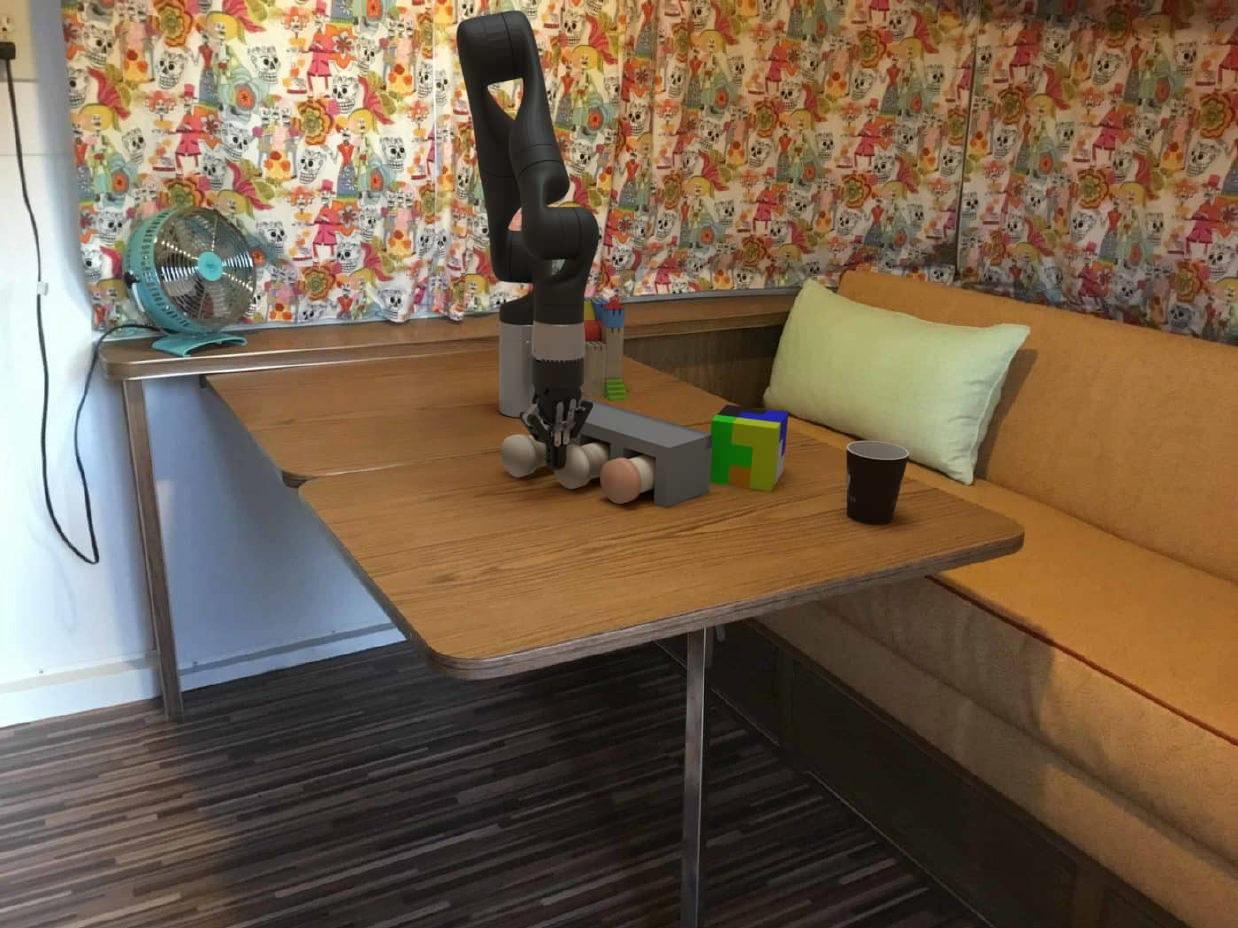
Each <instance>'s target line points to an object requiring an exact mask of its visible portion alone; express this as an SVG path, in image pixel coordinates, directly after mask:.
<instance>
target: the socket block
mask: <svg viewBox="0 0 1238 928" xmlns="http://www.w3.org/2000/svg"><path fill="white" fill-rule="evenodd" d="M583 398H584V399H585V400H586V401H590V402H592V403H593V408H592V410H591V412H590V413H589V415H588V417H587V419H586V421H585V423H584V425H583V427H582V429H581V430H580V432H579V434H578V436H577V437H576V438H571V439H570V440H569V443H568V445H572V444H575V445H578V446H583V445H587V444H590V443H594V442H597V441H601V440H603V441H606V442H609V443H611V445H610V460H614V459H617V458H626V459H631V458H635V457H638V456H641V455H645V454H647V455H650V456H653V457H656V469H655V488H654V490H653V491H654V492H653V504H655V505H658V506H660V507H664V508H668V507H671V506H673V505H676V504H679V503H682V502H685V501H688V500H689V499H693V498H696V497H699V496H701V495H704V494H707V493H709V492H710V483H711V482H710V470H711V455H712V441H713V434H711V433H709V432H705V431H703V430H699V429H695V428H693V427H692V428H691V427H688V426H685V425H681V424H678V423H674V422H671V421H667V420H663V419H660V418H656V417H652V416H650V415H646V414H642V413H640V412H636V411H631V410H628V409H625V408H621V407H619V406H614V405H611V404H607V403H605V402H600V401H597V400H594V399H591V398H588V397H587V398H586V397H583ZM531 406H532V405H530V407H531ZM575 423H576V422H574V423H573V427H574V425H575ZM572 429H573V428H572ZM529 435H531V434H530V433H529Z"/></svg>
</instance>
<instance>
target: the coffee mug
mask: <svg viewBox="0 0 1238 928" xmlns="http://www.w3.org/2000/svg"><path fill="white" fill-rule="evenodd" d="M909 456H910V452H909V450H908V449H906V448H905V447H902V446H900V445H897V444H894V443H890V442H885V441H879V440H877V441H876V440H859V441H853V442H850V443H848V444H847V445H846V515H847V517H848V518H849V519H851V520H853V521H855V522H858V523H861V524H865V525H866V524H867V525H876V526H877V525H878V526H879V525H886V524H889V523H891V522H892V521H893V518H894V514H895V510H896V507H897V502H898V499H899V494H900V491H901V488H902V484H903V481H904V476H905V471H906V468H907V464H908V460H909Z"/></svg>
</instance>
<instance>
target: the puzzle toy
mask: <svg viewBox="0 0 1238 928" xmlns="http://www.w3.org/2000/svg"><path fill="white" fill-rule="evenodd" d="M788 421H789V412H788V411H781V410H775V409H774V410H773V409H766V408H758V407H757V408H756V407H751V406H750V407H748V406H741V405H735V404H734V405H732V404H726V405H724V406H723V408H722V409H721V410H720V411H719V412H718V413H717V414H716V415H715V416H714V417H713V418H712V419H711V423H710V434H713V441H712V455H711V470H710V483H712V484H713V483H714V484H719V485H726V486H733V487H740V488H747V489H752V490H753V489H754V490H760V491H767V492H772V491H773V489H774V487H775V485H776V484H777V482H778V480H779V479H780V477H781V476H782V474H783V473H784V467H785V466H784V465H785V464H784V463H785V457H786V456H785V454H786V444H787V435H788Z"/></svg>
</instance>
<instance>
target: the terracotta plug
mask: <svg viewBox="0 0 1238 928" xmlns="http://www.w3.org/2000/svg"><path fill="white" fill-rule="evenodd" d="M655 469H656V457H653V456H650V455H647V454H645V455H641V456H638V457H635V458H631V459H626V458H617V459H614V460H610V461H608V462H606V463H605V464H604V465H603V467H602V469H601V473H600V476H599V481H600V486H601V489H602V491H603V493H604V495H605V496H606V497H607V498H608V500H609V501H611V502H612V503H614V504H618V505H621V504H625V503H629V502H631V501H633V500H636V498H638V496H639V495H640V494H642V493H645V492H647V491H651V490H653V489H655Z"/></svg>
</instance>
